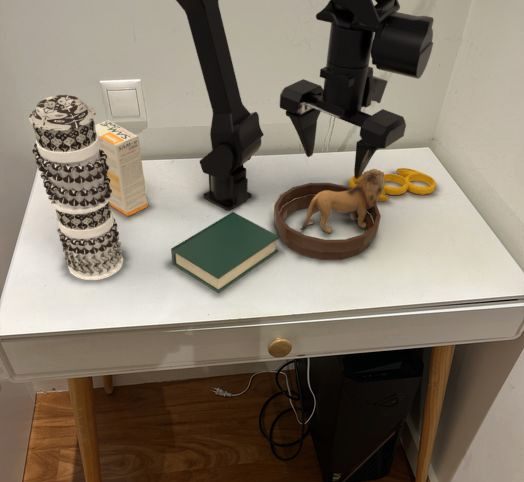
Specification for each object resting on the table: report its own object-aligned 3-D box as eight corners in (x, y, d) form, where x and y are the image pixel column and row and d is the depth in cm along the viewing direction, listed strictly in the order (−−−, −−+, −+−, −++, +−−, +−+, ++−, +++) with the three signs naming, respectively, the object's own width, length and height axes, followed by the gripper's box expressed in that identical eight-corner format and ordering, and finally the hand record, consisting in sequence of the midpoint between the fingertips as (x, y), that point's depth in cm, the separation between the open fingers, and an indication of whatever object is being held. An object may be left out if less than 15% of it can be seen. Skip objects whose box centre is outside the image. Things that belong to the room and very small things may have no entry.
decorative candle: (55, 258, 89) (8, 98, 70) (108, 238, 93) (77, 82, 74) (80, 289, 84) (37, 127, 66) (136, 267, 88) (110, 108, 70)
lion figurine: (371, 207, 100) (378, 160, 94) (385, 223, 97) (393, 176, 90) (294, 224, 97) (296, 178, 91) (306, 242, 94) (308, 195, 87)
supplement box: (149, 206, 99) (140, 135, 90) (127, 217, 97) (115, 145, 87) (120, 188, 103) (109, 118, 94) (98, 198, 101) (84, 127, 91)
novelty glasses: (442, 201, 104) (426, 173, 111) (444, 194, 103) (428, 166, 110) (353, 203, 103) (343, 174, 109) (355, 195, 101) (344, 167, 108)
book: (172, 264, 89) (170, 248, 87) (232, 226, 96) (232, 211, 94) (218, 293, 84) (218, 277, 82) (278, 251, 92) (279, 236, 90)
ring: (252, 231, 95) (253, 211, 92) (314, 191, 105) (317, 172, 102) (336, 276, 88) (339, 256, 85) (394, 229, 97) (399, 209, 94)
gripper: (438, 64, 77) (411, 169, 88) (327, 29, 84) (316, 129, 96) (394, 88, 71) (372, 197, 82) (280, 47, 79) (274, 152, 90)
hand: (333, 166), depth 88 cm, fingers open, 9 cm apart
